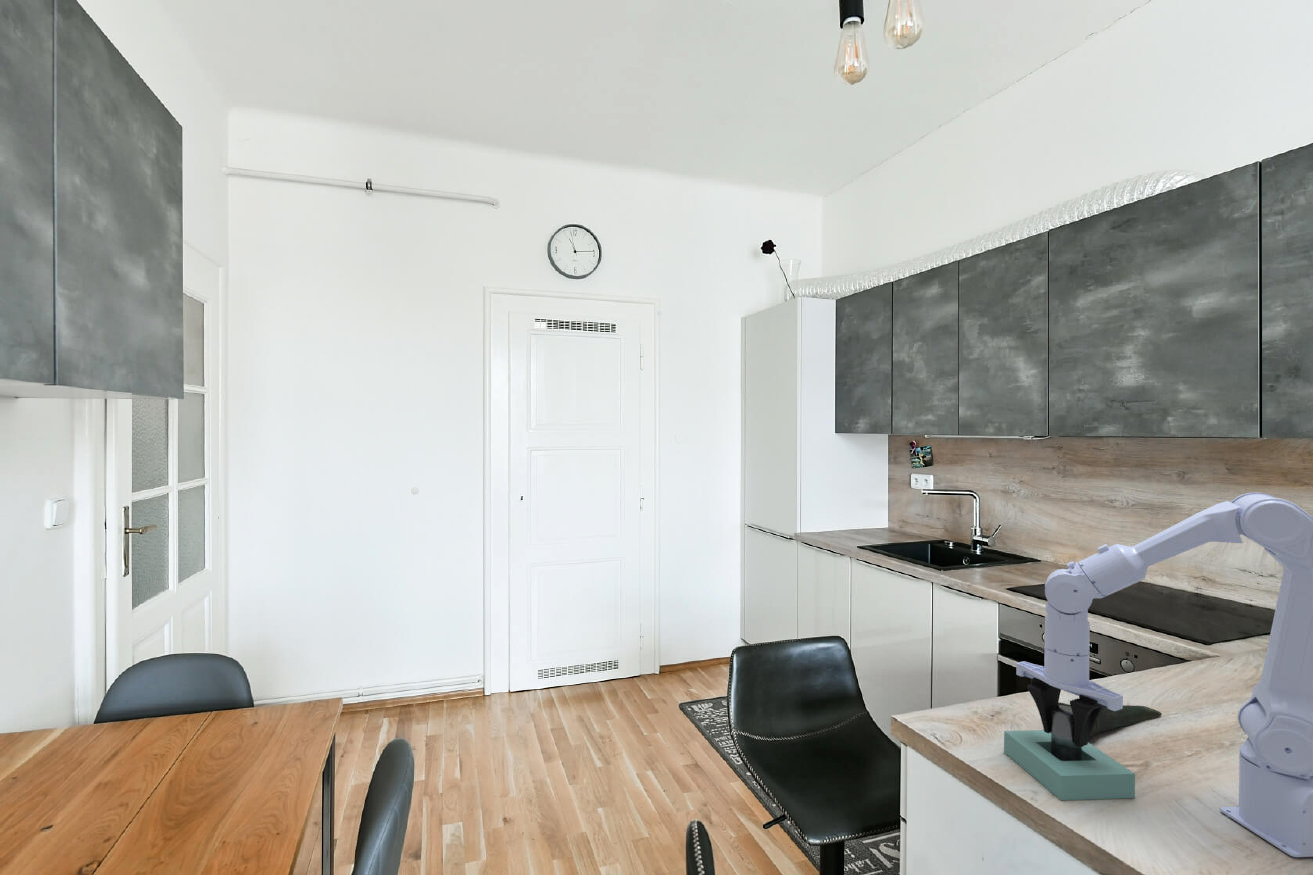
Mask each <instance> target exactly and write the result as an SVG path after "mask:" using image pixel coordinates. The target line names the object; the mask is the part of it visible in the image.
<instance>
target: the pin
mask: <svg viewBox="0 0 1313 875" xmlns="http://www.w3.org/2000/svg"><path fill="white" fill-rule="evenodd" d="M1051 754H1052V755H1053V756H1055V757H1056V758H1057V759H1059V760H1062V761H1082V747H1078V746H1076V745H1075V742H1074V718H1073V713H1072V709H1071V707H1069V706H1064V705H1054V706H1052V707H1051Z"/></svg>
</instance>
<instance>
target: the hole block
mask: <svg viewBox="0 0 1313 875" xmlns="http://www.w3.org/2000/svg"><path fill="white" fill-rule="evenodd" d="M1003 732H1004V734H1003V752H1004V754H1006V755H1007V756H1008V757H1009V758H1010V759H1011V760H1012V761H1014V762H1015V763H1016V764H1017V765H1018V766H1020V767H1021V768H1022V769H1023V770H1024V771H1025V772H1027V773H1028V775H1030V776H1032V777H1033V779H1035V780H1036V781H1038V783H1040V784H1041V785H1042V786H1043V787H1044V788H1045V789H1046V790H1048V791H1049V792H1051V793H1052V795H1053V796H1055V797H1056V798H1058V799H1059V800H1060V801H1079V800H1081V801H1082V800H1085V801H1086V800H1087V801H1088V800H1109V799H1111V800H1113V799H1115V800H1116V799H1135V798H1136V797H1135V795H1136V773H1135V772H1133V771H1131V770H1130V769H1129V768H1127V767H1126V766H1124V765H1123V764H1121V763H1120V762H1118V761H1117V760H1115V759H1114V758H1112V757H1111V756H1109V755H1108V754H1106V752H1105V753H1104V752H1103V751H1102V750H1100V749H1099V748H1098V747H1096V746H1094V745H1093V744H1092V743H1090V742H1088V744H1087V745H1085V746H1083V747H1082V761H1062V760H1059V759H1057V758H1056V757H1055V756H1053V755H1052V754H1051V733H1046V732H1044V729H1039V730H1038V729H1037V730H1036V729H1034V730H1033V729H1032V730H1030V729H1029V730H1004V731H1003Z"/></svg>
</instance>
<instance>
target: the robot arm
mask: <svg viewBox="0 0 1313 875" xmlns="http://www.w3.org/2000/svg"><path fill="white" fill-rule="evenodd" d="M1241 535H1243V536H1244V537H1246V538H1247V539H1249V540H1251V541H1253V542H1254V543H1256V544H1258V545H1260V546H1261V547H1263V548H1264V550H1265V552H1267V554H1269V555H1270V557H1272V558H1273V559H1274V560H1275V561H1276V562H1278V563H1279V565H1281V566H1282V567H1283V573H1282V578H1281V582H1280V587H1279V592H1278V597H1277V602H1276V604H1275V605H1276V606H1275V610H1274V614H1273V621H1272V623H1271V624H1272V625H1271V629H1270V634H1269V639H1268V643H1267V649H1266V653H1265V658H1264V663H1263V667H1262V670H1261V671H1262V672H1261V677H1260V680H1259V681H1258V682H1257V683H1256V684H1255V685H1254V686H1253V688H1252V692H1251V695H1250V697H1249V699H1248V700H1247V701H1246V702H1244V703H1243V704H1242V705H1241V706H1240V708H1239V710H1238V711H1237V723H1238V725H1239V727H1240V728H1241V730H1242V731H1243V733H1244V734H1245V735H1246V736H1247V738H1246V740H1245V741H1244V742H1243V744H1241V746H1240V747H1239V758H1238V760H1239V762H1238V763H1239V765H1238V770H1239V771H1238V806H1223V807H1222V806H1221V807H1219V811H1220V812H1222V814H1225V816H1227V817H1229V818H1230V819H1232V820H1233V821H1235V822H1237V823H1239V825H1241V826H1243V827H1245V828H1246V829H1248V830H1249V831H1250V832H1253V833H1254V834H1256V835H1257V836H1259V837H1260V838H1262V839H1263V840H1265V841H1266V842H1268V843H1270V844H1271V845H1272V846H1274V847H1276V848H1278V849H1280V850H1281V851H1282V852H1284V853H1285V854H1287V855H1289V856H1291V857H1293V858H1313V516H1312V515H1311V514H1309V513H1308V512H1307V511H1306V510H1305V509H1303V508H1301V507H1300V506H1299V505H1298V504H1296V503H1294V502H1292V501H1291V500H1290V501H1289V500H1287V499H1285V498H1278V497H1275V496H1274V495H1271V494H1268V493H1264V492H1248V493H1247V492H1246V493H1243V494H1240V495H1238V496H1236V497H1235V498H1234V499H1232V500H1231V501H1228V500H1226V501H1223V502H1219V503H1216V504H1214V505H1212V506H1209V507H1208V508H1206V509H1203V510H1201V511H1199V512H1197V513H1195V514H1193V515H1191V516H1190V517H1187V518H1185V519H1183V520H1181V521H1180V522H1178V523H1176V524H1173V525H1172V526H1169V527H1168V528H1166V529H1164V530H1163V531H1160V532H1158V533H1156V534H1154V535H1153V536H1150V537H1148V538H1147V539H1144V540H1143V541H1141V542H1139V543H1137V544H1135V545H1133V546H1128V545H1125V544H1118V543H1116V544H1115V543H1114V544H1113V545H1111V546H1108V544H1106V543H1105V544H1103V545H1100V546H1099V547H1097V550H1098V552H1097V553H1094V554H1092V555H1090V556H1088V557H1086V558H1084V559H1082V560H1079V561H1078V562H1074V561H1073V560H1072V561H1070V562H1068V563H1066V567H1067V568H1060V569H1056V570H1054V571H1052V572H1051V573H1050V574H1049V575H1048V577H1047V578H1046V581H1045V582H1044V595H1045V598H1046V601H1047V602H1046V604H1045V613H1046V615H1045V617H1044V660H1043V661H1044V666H1043V665H1039V664H1034V663H1031V662H1028V661H1019V662H1017V663H1016V673H1015V674H1016V675H1017V676H1019V677H1023V678H1024V677H1026V678H1029V679H1032V681H1031V683H1029V684H1027V691H1028V692H1029V694H1030V696H1031V697H1032V699H1033V701H1034V703H1035V705H1036V708H1037V710H1038V714H1039V716H1040V720H1041V724H1042V729H1043V730H1044V732H1046V733H1051V707H1052V706H1054V705H1058V703H1060V702H1059V699H1060V696H1061V691H1064V692H1067V693H1070V694H1072V695H1075V696H1078V698H1077V697H1076V698H1074V699H1072V700H1069V705H1071V709H1072V713H1073V718H1074V742H1075V745H1076V746H1078V747H1083V746H1085V745H1087V744H1088V743H1089V740H1090V738H1091V737H1090V734H1091V731H1092V728H1093V726H1094V724H1095V722H1096V720H1097V718H1098V717H1099V715H1100V714H1101V712H1102V711H1103V710H1104V709H1105V707H1106V706H1107V708H1108V709H1110V710H1113V711H1117V710H1120V709H1123V705H1124V696H1123V695H1122V694H1119V693H1118V692H1117V693H1116V692H1114V691H1113V690H1110V689H1107V688H1105V687H1104V686H1103V685H1100V684H1098V683H1096V682H1094V681H1093V680H1090V642H1091V640H1090V636H1091V634H1090V629H1091V628H1090V627H1091V624H1090V621H1089V620H1088V615H1089V614H1088V613H1089V611H1088V610H1089V608H1090V606H1092V604H1093V600H1094V599H1103V598H1106V597H1107V596H1110V595H1112V594H1115V593H1116V592H1118V591H1121V590H1124V589H1125V588H1128V587H1130V586H1132V585H1135V584H1137V583H1139V582H1141V581H1143V580H1145V579H1146V576H1147V572H1148V568H1149V567H1150V566H1153V565H1156V564H1158V563H1162V562H1163V561H1165V560H1168V559H1170V558H1173V557H1175V556H1178V555H1181V554H1184V553H1186V552H1188V551H1190V550H1193V549H1195V548H1198V547H1200V546H1203V545H1205V544H1208V543H1211V542H1212V543H1213V542H1214V543H1217V542H1218V543H1231V544H1243V543H1244V542H1243V540H1242V537H1241Z"/></svg>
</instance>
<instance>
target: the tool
mask: <svg viewBox="0 0 1313 875" xmlns="http://www.w3.org/2000/svg"><path fill="white" fill-rule="evenodd" d="M1058 705H1064V706H1069V707H1071V705H1070V704H1067V703H1065V702H1058ZM1161 716H1162V713H1161V711H1159V710H1156V709H1155V708H1151V707H1149V706H1144V705H1130V704H1129V705H1124V704H1123V709H1120V710H1117V711H1113V710H1110V709H1108V708H1107V706H1106V707H1105V709H1104V710H1103V711H1102V712H1101V714H1100V715H1099V717H1098V718H1097V720H1096V722H1095V724H1094V726H1093V728H1092V731H1091V734H1090V737H1089V738H1091V737H1093V736H1095V734H1097V733H1101V732H1104V731H1110V730H1115V729H1118V727H1119V728H1123V727H1126V726H1130V724H1131V725H1135V723H1136V724H1140V723H1143V722H1147V721H1151V720H1155V719H1158V718H1160V717H1161ZM1146 720H1147V721H1146Z"/></svg>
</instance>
